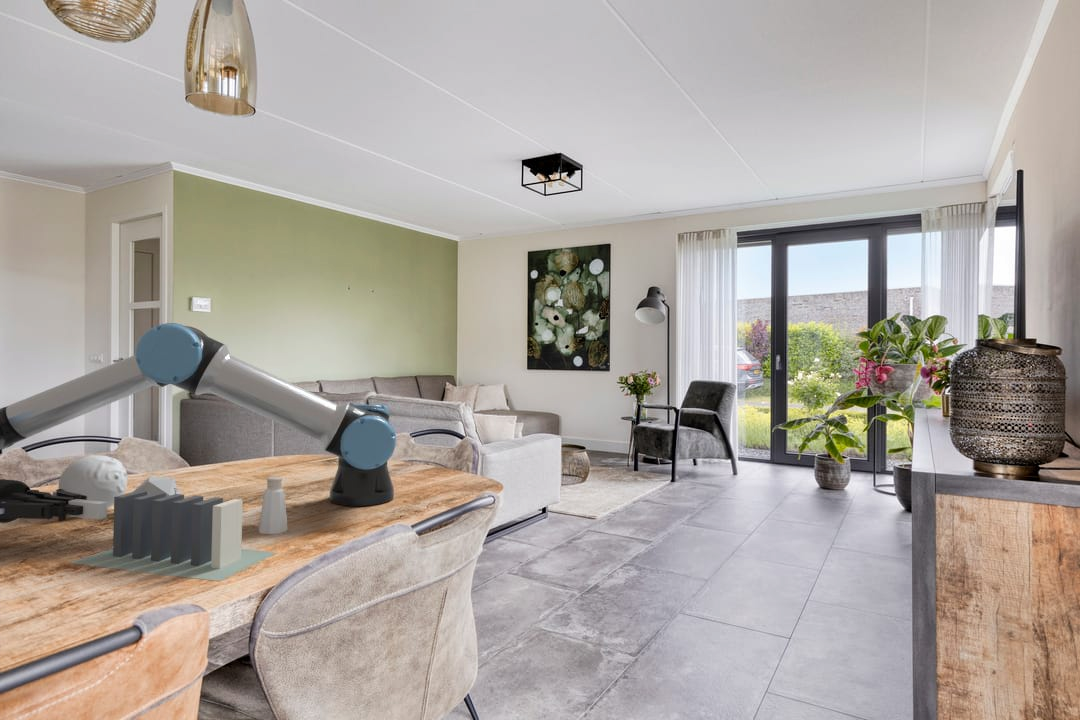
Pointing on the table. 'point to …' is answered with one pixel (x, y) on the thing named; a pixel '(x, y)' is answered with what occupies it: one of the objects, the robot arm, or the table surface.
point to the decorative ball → (95, 478)
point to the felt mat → (175, 565)
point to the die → (159, 486)
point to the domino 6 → (226, 533)
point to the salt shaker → (273, 508)
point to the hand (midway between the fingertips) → (102, 510)
